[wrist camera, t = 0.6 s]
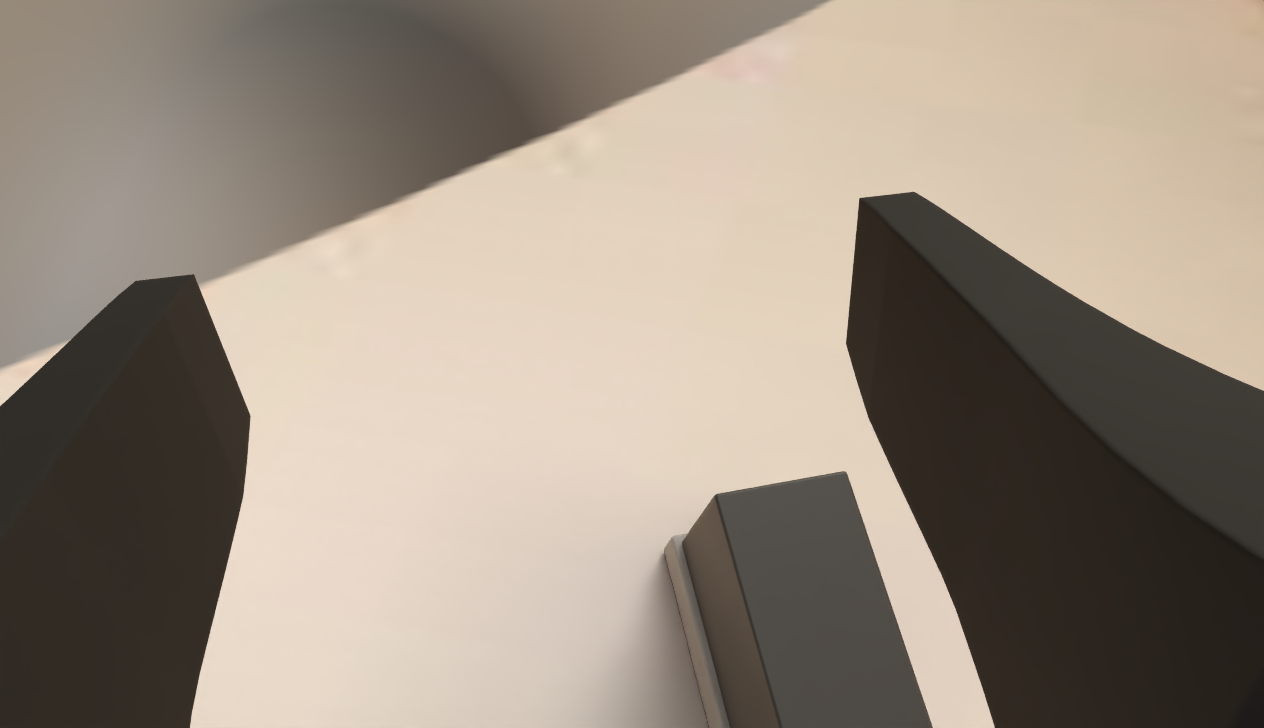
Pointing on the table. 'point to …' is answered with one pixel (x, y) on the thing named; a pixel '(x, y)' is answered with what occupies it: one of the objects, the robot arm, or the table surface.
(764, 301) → the table surface
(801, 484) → the dark grey eraser block
